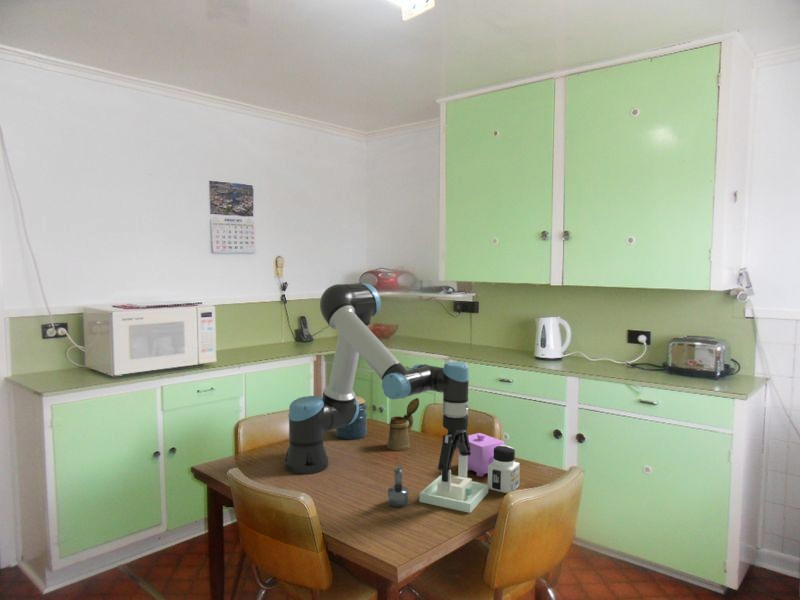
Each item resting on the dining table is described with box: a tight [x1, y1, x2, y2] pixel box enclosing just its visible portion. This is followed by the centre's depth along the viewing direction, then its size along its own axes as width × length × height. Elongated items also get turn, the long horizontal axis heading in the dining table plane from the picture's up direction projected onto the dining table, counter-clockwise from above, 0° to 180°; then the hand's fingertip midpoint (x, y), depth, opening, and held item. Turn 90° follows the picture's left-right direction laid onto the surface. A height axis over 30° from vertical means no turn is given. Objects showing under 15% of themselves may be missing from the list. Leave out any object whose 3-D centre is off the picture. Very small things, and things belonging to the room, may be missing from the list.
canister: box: [334, 395, 368, 440], centre depth 234 cm, size 13×13×18 cm
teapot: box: [457, 432, 505, 478], centre depth 195 cm, size 20×10×12 cm, turn 35°
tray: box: [418, 474, 489, 514], centre depth 174 cm, size 16×16×3 cm
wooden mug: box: [386, 397, 420, 452], centre depth 221 cm, size 9×14×18 cm, turn 122°
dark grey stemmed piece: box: [387, 465, 409, 509], centre depth 169 cm, size 6×6×11 cm
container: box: [487, 444, 521, 494], centre depth 181 cm, size 8×8×13 cm
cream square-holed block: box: [437, 474, 473, 501], centre depth 174 cm, size 9×8×4 cm
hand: (454, 483), depth 174 cm, fingers open, 13 cm apart
